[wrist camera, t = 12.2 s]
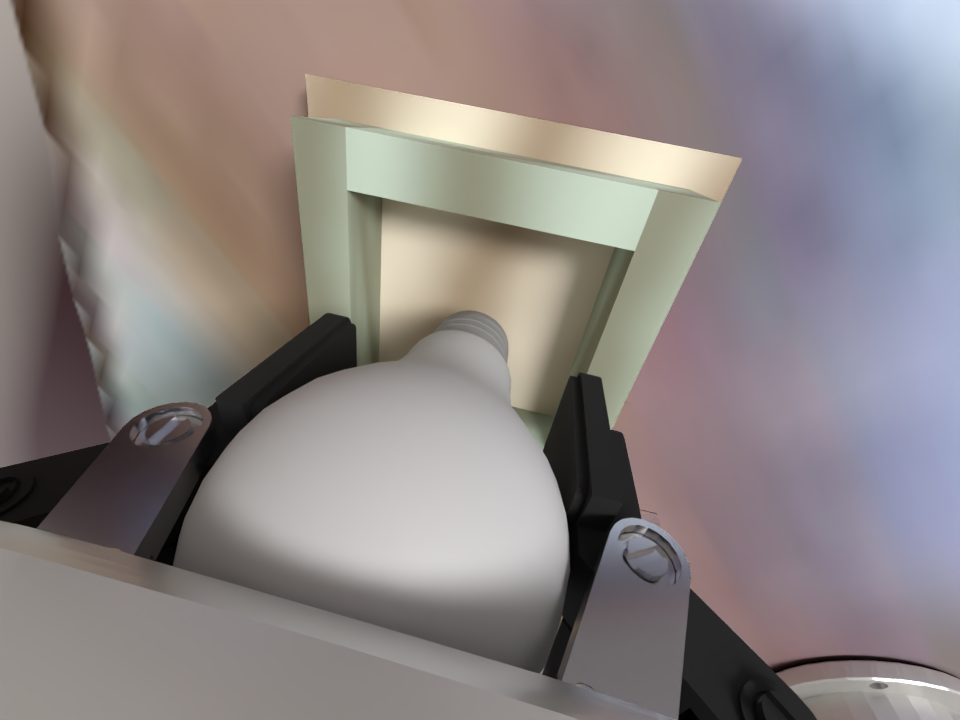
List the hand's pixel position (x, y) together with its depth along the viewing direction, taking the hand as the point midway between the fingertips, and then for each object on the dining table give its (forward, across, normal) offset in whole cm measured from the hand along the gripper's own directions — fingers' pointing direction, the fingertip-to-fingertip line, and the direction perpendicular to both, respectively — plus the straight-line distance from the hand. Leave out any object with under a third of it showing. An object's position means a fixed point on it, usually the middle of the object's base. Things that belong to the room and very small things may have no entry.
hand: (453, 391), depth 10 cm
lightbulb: (+4, 0, 0) cm, 4 cm away
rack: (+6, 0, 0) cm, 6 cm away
